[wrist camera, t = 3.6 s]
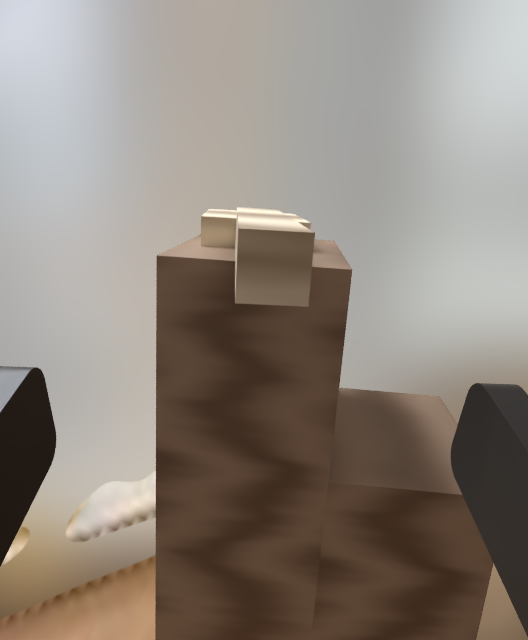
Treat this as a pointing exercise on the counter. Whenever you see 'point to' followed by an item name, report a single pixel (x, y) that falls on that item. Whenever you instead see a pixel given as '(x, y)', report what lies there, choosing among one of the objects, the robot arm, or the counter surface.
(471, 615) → the walnut step stand
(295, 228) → the l-shaped block
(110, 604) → the counter surface
